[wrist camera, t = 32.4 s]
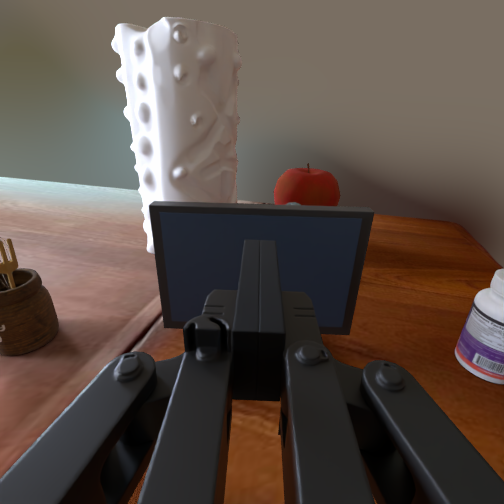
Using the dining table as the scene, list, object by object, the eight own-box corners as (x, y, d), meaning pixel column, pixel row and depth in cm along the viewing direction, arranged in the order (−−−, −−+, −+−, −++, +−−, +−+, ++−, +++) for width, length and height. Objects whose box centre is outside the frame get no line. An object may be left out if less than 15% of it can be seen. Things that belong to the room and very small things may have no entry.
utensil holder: (47, 313, 36) (15, 216, 30) (71, 336, 32) (39, 231, 27) (-16, 339, 31) (-65, 232, 26) (4, 369, 28) (-48, 252, 23)
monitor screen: (349, 336, 26) (375, 212, 21) (163, 329, 26) (147, 205, 21) (346, 326, 27) (369, 207, 22) (167, 319, 27) (153, 200, 22)
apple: (301, 254, 52) (309, 171, 46) (258, 233, 60) (261, 160, 54) (346, 239, 58) (359, 165, 52) (302, 222, 67) (308, 156, 61)
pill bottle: (485, 342, 33) (522, 263, 28) (534, 383, 28) (587, 294, 24) (440, 347, 32) (471, 265, 28) (483, 389, 27) (527, 298, 23)
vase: (195, 275, 44) (177, 3, 31) (125, 248, 52) (87, 22, 39) (256, 239, 57) (262, 37, 44) (193, 222, 65) (182, 46, 52)
